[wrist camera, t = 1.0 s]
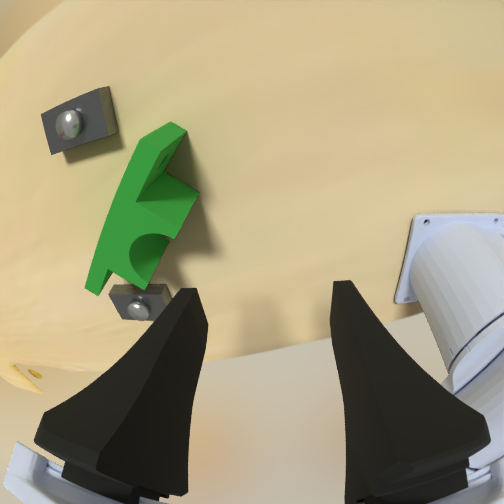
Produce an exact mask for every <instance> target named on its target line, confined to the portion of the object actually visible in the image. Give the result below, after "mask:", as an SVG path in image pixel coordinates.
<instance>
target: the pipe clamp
mask: <svg viewBox="0 0 504 504" xmlns="http://www.w3.org/2000/svg"><path fill="white" fill-rule="evenodd" d="M186 132H187V131H186V130H185V129H183V128H181V127H180V126H178V125H176V124H174V123H173V122H169V123H167V124H166V125H164V126H162V127H160V128H158V129H157V130H155V131H153V132H151V133H150V134H148V135H146V136H145V137H143V138H141V139H140V141H139V143H138V145H137V147H136V149H135V151H134V153H133V155H132V157H131V160H130V162H129V164H128V166H127V169H126V171H125V173H124V175H123V178H122V180H121V182H120V185H119V187H118V190H117V192H116V195H115V197H114V200H113V202H112V205H111V207H110V210H109V213H108V215H107V218H106V221H105V224H104V227H103V229H102V232H101V235H100V238H99V241H98V244H97V247H96V250H95V254H94V257H93V260H92V264H91V267H90V270H89V274H88V277H87V281H86V285H85V289H87V290H89V291H90V292H92V293H94V294H95V295H97V296H99V294H100V292H101V291H102V289H103V287H104V286H105V284H106V283H107V281H108V279H109V278H110V276H111V274H112V273H113V272H114V273H115V274H117V275H119V276H120V277H122V278H124V279H126V280H127V281H129V282H131V283H133V284H134V285H136V286H138V287H140V288H141V289H143V290H145V289H146V287H147V285H148V283H149V281H150V279H151V277H152V275H153V273H154V271H155V269H156V267H157V265H158V263H159V261H160V259H161V257H162V255H163V253H164V251H165V249H166V247H167V245H168V243H169V242H168V241H167V240H166V239H164V238H163V237H162V236H161V235H160V234H162V235H165V236H168V237H170V238H172V239H174V238H175V237H176V235H177V233H178V232H179V230H180V229H181V227H182V225H183V223H184V221H185V219H186V217H187V215H188V213H189V211H190V209H191V207H192V206H193V204H194V202H195V200H196V198H197V196H198V194H199V192H197V191H196V190H194V189H192V188H191V187H189V186H187V185H186V184H184V183H182V182H181V181H179V180H177V179H176V178H174V177H172V176H171V175H169V174H167V173H166V172H164V170H165V168H166V166H167V165H168V163H169V161H170V159H171V157H172V156H173V154H174V152H175V150H176V149H177V147H178V145H179V143H180V142H181V140H182V138H183V137H184V135H185V133H186Z"/></svg>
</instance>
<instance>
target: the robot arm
mask: <svg viewBox="0 0 504 504" xmlns="http://www.w3.org/2000/svg"><path fill="white" fill-rule="evenodd" d="M427 219H428V220H427ZM425 220H427V222H426V223H424V221H425ZM395 301H396V303H398V304H403V303H411V302H419V303H420V305H421V307H422V309H423V312H424V314H425V316H426V318H427V321H428V323H429V325H430V327H431V330H432V332H433V335H434V337H435V340H436V342H437V345H438V347H439V350H440V352H441V355H442V358H443V360H444V363H445V366H446V369H447V372H448V374H449V375H448V377H447V378H446V379H445V380H444V381H443V382H442V385H440V384H439V383H438V382H437V381H436V380H434V379H433V378H432V377H431V376H430V375H429V374H427V373H426V372H425V371H424V370H423V369H422V368H421V367H420V366H419V365H418V364H417V363H416V362H415V361H414V360H413V359H412V358H411V357H410V356H409V355H408V354H407V353H406V352H405V350H404V349H403V348H402V347H401V346H400V345H399V344H398V343H397V341H396V340H395V339H394V338H393V337H392V336H391V334H390V333H389V332H388V331H387V329H386V328H385V327H384V326H383V324H382V323H381V322H380V320H379V319H378V318H377V317H376V315H375V314H374V313H373V311H372V310H371V309H370V307H369V306H368V304H367V303H366V302H365V300H364V299H363V297H362V296H361V294H360V293H359V291H358V290H357V288H356V287H355V285H354V284H353V282H352V281H351V280H345V281H334V282H333V293H332V303H331V313H330V327H331V337H332V345H333V350H334V355H335V360H336V365H337V369H338V374H339V379H340V384H341V390H342V395H343V402H344V414H345V431H346V482H345V504H504V214H503V213H443V214H417V215H416V216H415V217H414V218H413V220H412V226H411V231H410V236H409V241H408V246H407V251H406V255H405V260H404V264H403V268H402V272H401V276H400V280H399V284H398V288H397V291H396V295H395ZM207 333H208V322H207V319H206V316H205V313H204V310H203V307H202V304H201V300H200V297H199V294H198V291H197V288H181V289H180V290H179V292H178V293H177V294H176V295H175V296H174V298H173V299H172V300H171V301H170V303H169V304H168V305H167V306H166V308H165V309H164V310H163V311H162V313H161V314H160V315H159V316H158V317H157V319H156V320H155V321H154V322H153V323H152V325H151V326H150V327H149V328H148V330H147V331H146V332H145V333H144V334H143V335H142V336H141V337H140V339H139V340H138V341H137V342H136V343H135V344H134V345H133V346H132V347H131V349H130V350H129V351H128V352H127V353H126V354H125V355H124V356H123V357H122V358H121V359H119V360H118V361H117V362H116V363H115V364H114V365H113V366H112V367H111V368H110V369H109V370H107V371H106V372H105V373H104V374H102V375H101V376H100V377H99V378H97V380H95V381H94V382H93V383H91V384H90V385H89V386H88V387H86V388H84V389H83V390H82V391H80V392H79V393H77V394H76V395H74V396H73V397H71V398H70V399H68V400H66V401H65V402H63V403H61V404H59V405H57V406H56V407H54V408H52V409H50V410H48V411H46V412H45V413H44V414H43V417H42V419H41V422H40V425H39V427H38V430H37V432H36V435H35V438H34V442H35V444H37V445H38V446H40V447H41V448H43V449H44V450H46V451H48V452H49V453H51V454H53V455H54V456H56V457H58V458H60V459H62V460H64V461H65V465H64V467H62V466H60V465H58V464H56V463H54V462H52V461H50V460H48V459H47V458H45V457H44V456H42V455H40V454H38V453H37V452H35V451H33V450H31V449H30V448H28V447H26V446H24V445H23V444H22V443H20V442H16V445H15V447H14V450H13V453H12V456H11V459H10V463H9V466H8V469H7V473H6V476H5V480H4V484H3V485H4V487H5V488H6V489H8V490H9V491H10V492H11V493H13V494H14V495H15V496H16V497H18V498H19V499H20V500H21V501H22V502H24V503H25V504H167V503H163V502H159V498H160V497H164V498H169V495H176V496H183V495H185V494H186V493H188V451H189V450H188V449H189V436H190V424H191V415H192V406H193V400H194V395H195V391H196V387H197V383H198V379H199V374H200V371H201V366H202V362H203V358H204V354H205V349H206V342H207Z"/></svg>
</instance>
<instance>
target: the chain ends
mask: <svg viewBox="0 0 504 504" xmlns="http://www.w3.org/2000/svg"><path fill="white" fill-rule="evenodd" d="M41 117H42V121H43V126H44V130H45V134H46V138H47V141H48V145H49V149H50V152H51V155H53V154H56V153H59V152H61V151H64V150H67V149H70V148H72V147H75V146H78V145H81V144H84V143H87V142H90V141H94V140H97V139H100V138H103V137H107V136H110V135H112V134H114V133H116V132H118V127H117V123H116V119H115V114H114V109H113V104H112V100H111V94H110V89H109V86H107V87H102V88H98V89H95V90H93V91H90V92H88V93H85V94H83V95H81V96H78V97H76V98H74V99H71V100H69V101H67V102H65V103H63V104H61V105H59V106H56V107H54V108H52V109H50V110H48V111H46V112H44V113H42V114H41ZM109 296H110V298H111V300H112V302H113V304H114V306H115V307H116V309H117V311H118V313H119V314H120V316H121V318H122V319H126V320H139V321H145V320H150V321H155V320H156V319H157V317H158V316H159V315H160V314H161V313H162V311H163V310H164V309H165V308H166V306H167V305H168V304H169V303H170V301H171V300H172V299H171V296H170V294H169V291H168V289H167V286H166V284H148V285H147V287H146V289H145V290H143V289H141V288H140V287H138V286H136V285H114V286H113V287H112V289H111V291H110V293H109Z"/></svg>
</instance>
